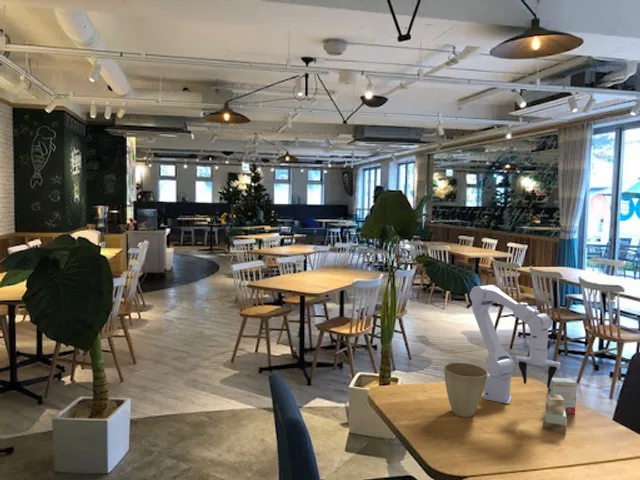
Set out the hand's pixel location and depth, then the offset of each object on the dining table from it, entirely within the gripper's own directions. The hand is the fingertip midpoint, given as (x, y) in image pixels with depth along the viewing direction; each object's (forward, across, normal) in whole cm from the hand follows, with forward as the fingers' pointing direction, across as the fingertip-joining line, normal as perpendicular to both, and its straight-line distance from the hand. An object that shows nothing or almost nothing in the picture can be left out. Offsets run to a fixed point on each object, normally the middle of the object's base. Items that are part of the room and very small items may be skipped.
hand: (536, 384), depth 182 cm
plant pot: (+10, -22, -14) cm, 28 cm away
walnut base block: (+11, +7, -9) cm, 16 cm away
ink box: (+11, +8, +7) cm, 15 cm away
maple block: (+5, +7, -9) cm, 12 cm away
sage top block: (+8, +7, -9) cm, 14 cm away
